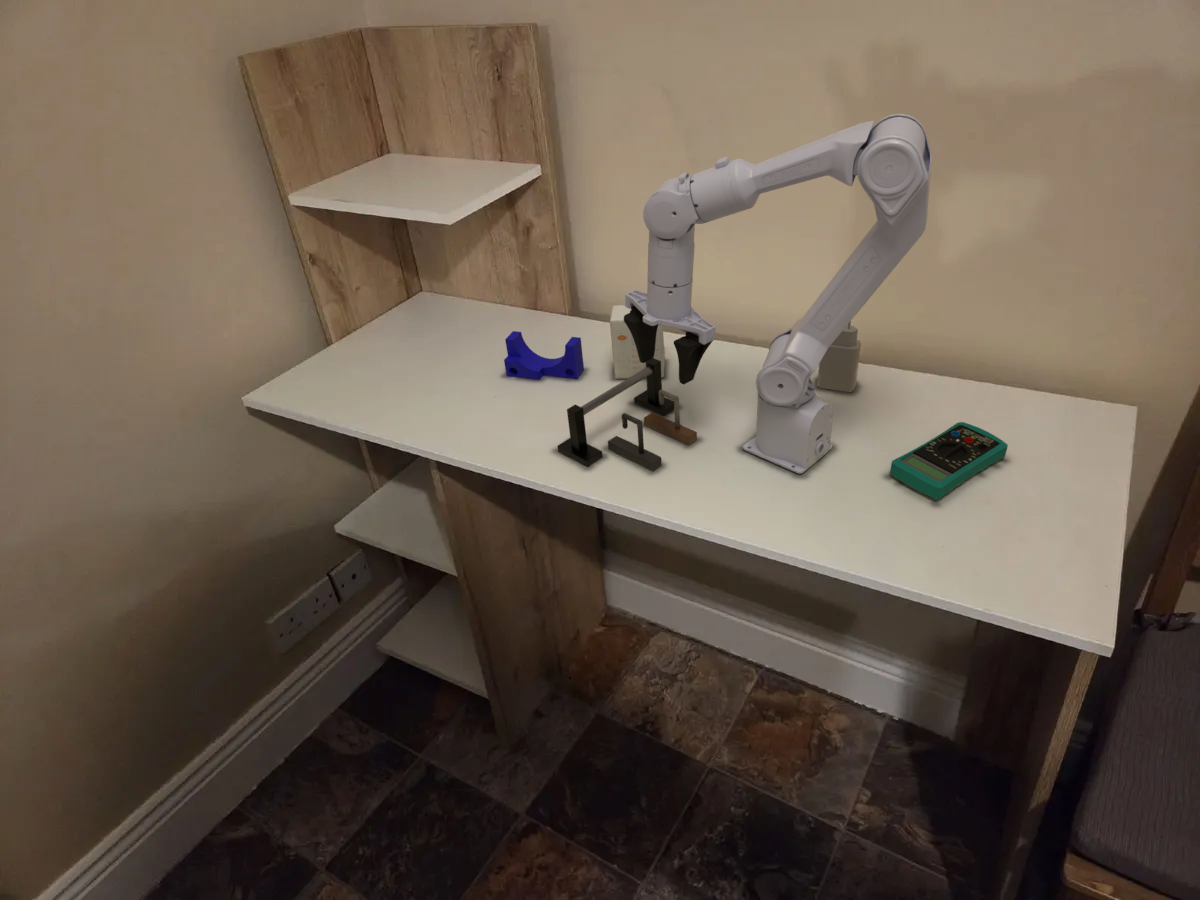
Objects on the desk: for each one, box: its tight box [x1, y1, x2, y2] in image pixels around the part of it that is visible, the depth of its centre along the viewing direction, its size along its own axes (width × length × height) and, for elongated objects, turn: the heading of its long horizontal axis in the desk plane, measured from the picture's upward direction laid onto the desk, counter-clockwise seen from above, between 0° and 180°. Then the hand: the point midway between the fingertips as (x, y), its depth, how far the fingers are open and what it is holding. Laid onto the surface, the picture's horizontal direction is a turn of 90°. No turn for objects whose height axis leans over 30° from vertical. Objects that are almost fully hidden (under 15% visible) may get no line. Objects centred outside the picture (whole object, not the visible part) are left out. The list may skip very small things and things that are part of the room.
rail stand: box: [557, 358, 674, 468], centre depth 115 cm, size 6×19×8 cm, turn 136°
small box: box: [609, 304, 666, 380], centre depth 128 cm, size 8×6×10 cm
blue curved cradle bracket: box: [503, 330, 585, 381], centre depth 131 cm, size 12×4×6 cm, turn 70°
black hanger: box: [607, 412, 663, 472], centre depth 110 cm, size 8×2×7 cm, turn 45°
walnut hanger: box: [643, 389, 698, 447], centre depth 114 cm, size 8×2×7 cm, turn 45°
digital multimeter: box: [889, 421, 1009, 500], centre depth 103 cm, size 7×15×3 cm, turn 125°
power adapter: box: [816, 320, 862, 393], centre depth 119 cm, size 3×5×12 cm, turn 65°
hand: (666, 370), depth 110 cm, fingers open, 7 cm apart
